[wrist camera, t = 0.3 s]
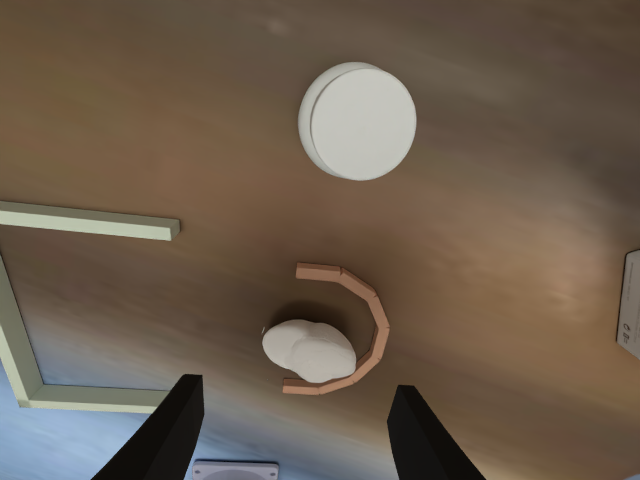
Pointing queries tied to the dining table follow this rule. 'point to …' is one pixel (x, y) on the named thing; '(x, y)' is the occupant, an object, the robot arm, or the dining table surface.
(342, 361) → the dumpling
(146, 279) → the dining table surface
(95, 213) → the pale green u-frame
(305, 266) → the segmented c-shaped arc
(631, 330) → the supplement box
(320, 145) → the pill bottle
